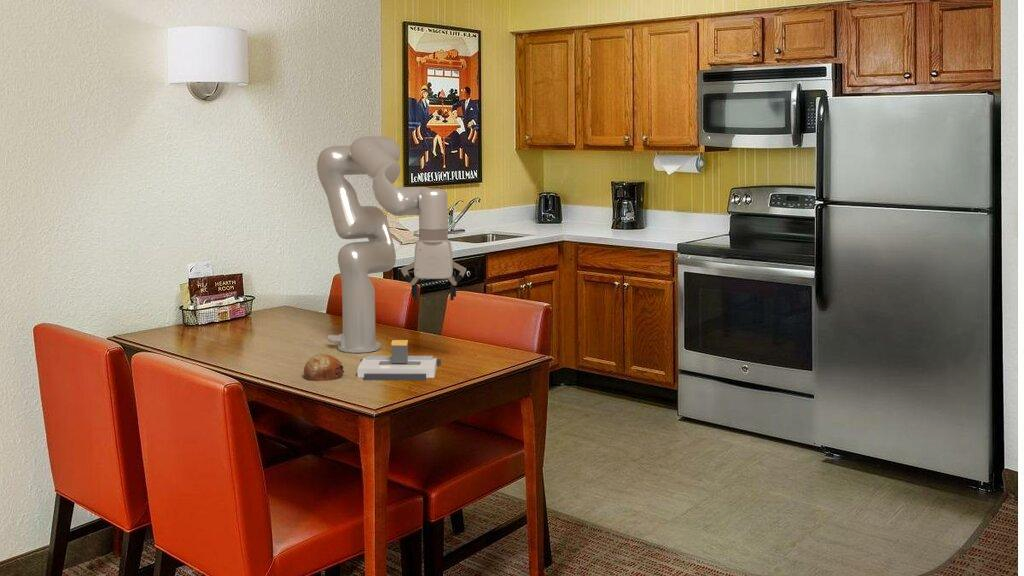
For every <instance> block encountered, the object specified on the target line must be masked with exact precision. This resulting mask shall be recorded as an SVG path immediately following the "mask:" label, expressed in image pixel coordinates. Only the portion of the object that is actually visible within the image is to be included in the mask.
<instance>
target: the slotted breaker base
mask: <svg viewBox="0 0 1024 576" xmlns="http://www.w3.org/2000/svg"><path fill="white" fill-rule="evenodd" d="M362 359H363V360H362V361H361V360H360V362H359V365H358V367H357V378H364V374H365V373H369V374H426V379H429V378H433V379H434V378H435V376H436V372H437V367H438V365H437V359H438V358H437V357H434V356H433V355H408V362H407V363H392V355H366V356H365V357H363V358H362Z"/></svg>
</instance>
